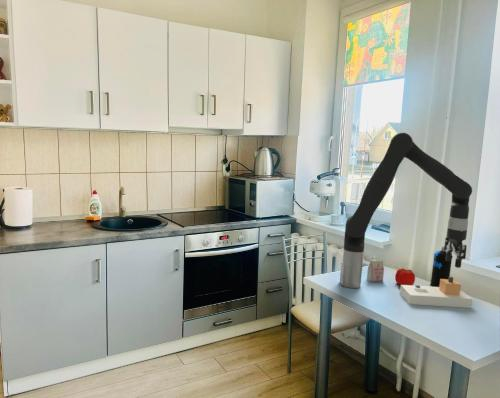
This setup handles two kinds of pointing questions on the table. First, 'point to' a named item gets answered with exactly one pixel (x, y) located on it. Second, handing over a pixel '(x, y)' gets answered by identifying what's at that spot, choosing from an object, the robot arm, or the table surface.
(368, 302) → the table surface
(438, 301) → the block
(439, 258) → the aerosol can
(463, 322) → the table surface
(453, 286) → the plug
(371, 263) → the small beige carton
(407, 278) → the tomato
